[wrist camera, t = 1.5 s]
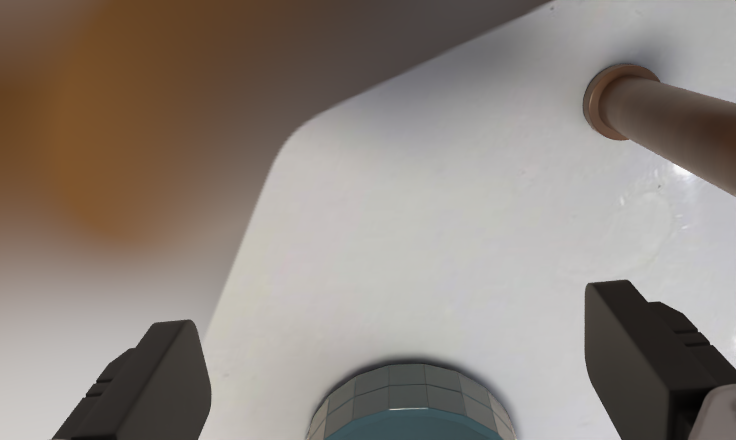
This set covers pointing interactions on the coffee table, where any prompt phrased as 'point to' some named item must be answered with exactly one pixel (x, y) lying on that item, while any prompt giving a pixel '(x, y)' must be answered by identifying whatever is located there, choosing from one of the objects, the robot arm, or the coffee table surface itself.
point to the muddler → (666, 121)
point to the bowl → (411, 407)
